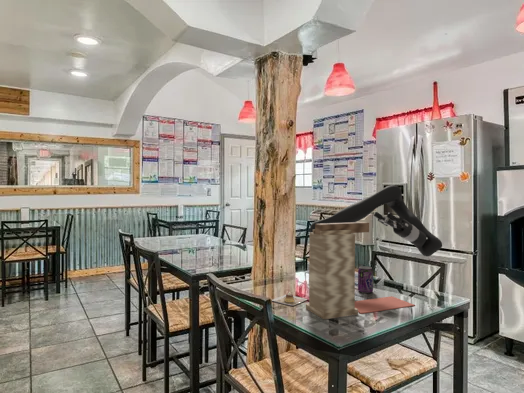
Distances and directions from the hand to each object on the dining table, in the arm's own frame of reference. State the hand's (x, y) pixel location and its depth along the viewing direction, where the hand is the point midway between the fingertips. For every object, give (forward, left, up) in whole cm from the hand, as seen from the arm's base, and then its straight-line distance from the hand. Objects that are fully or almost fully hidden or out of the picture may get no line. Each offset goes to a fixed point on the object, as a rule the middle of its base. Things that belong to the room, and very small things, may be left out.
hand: (381, 214), depth 162 cm
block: (-14, -18, -7) cm, 24 cm away
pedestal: (-17, -22, -39) cm, 48 cm away
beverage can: (-8, +14, -39) cm, 43 cm away
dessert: (-38, -15, -40) cm, 57 cm away
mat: (-1, -6, -39) cm, 40 cm away
